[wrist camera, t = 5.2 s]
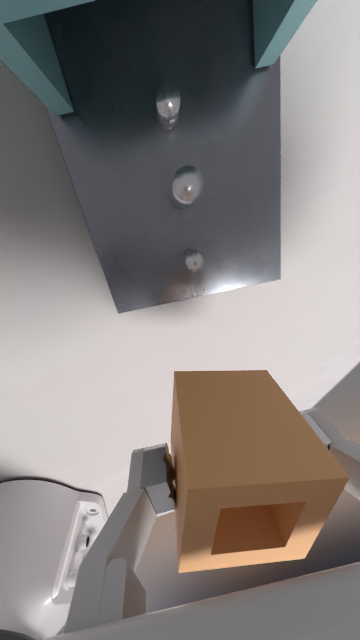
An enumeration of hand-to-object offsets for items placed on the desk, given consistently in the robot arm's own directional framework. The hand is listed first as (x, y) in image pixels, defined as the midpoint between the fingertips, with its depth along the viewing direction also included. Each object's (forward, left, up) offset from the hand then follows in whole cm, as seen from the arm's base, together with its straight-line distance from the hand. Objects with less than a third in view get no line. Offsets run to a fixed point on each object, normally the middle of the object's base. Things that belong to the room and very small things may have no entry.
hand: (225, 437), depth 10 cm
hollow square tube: (0, 0, -2) cm, 2 cm away
